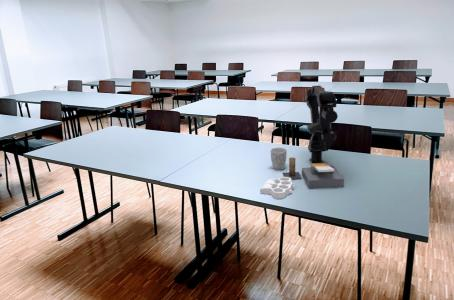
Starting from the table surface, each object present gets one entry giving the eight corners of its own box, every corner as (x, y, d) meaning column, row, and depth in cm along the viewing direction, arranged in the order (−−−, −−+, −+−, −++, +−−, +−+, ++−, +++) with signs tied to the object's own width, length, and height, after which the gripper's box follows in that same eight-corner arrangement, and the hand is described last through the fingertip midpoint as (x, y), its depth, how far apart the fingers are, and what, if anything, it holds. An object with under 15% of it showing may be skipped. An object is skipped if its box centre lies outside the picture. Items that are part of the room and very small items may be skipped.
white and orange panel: (311, 166, 172) (311, 163, 172) (325, 165, 172) (325, 163, 171) (318, 172, 157) (318, 169, 157) (334, 171, 157) (334, 168, 157)
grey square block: (301, 175, 174) (301, 160, 172) (333, 173, 174) (334, 158, 171) (308, 188, 159) (309, 172, 156) (343, 186, 159) (344, 171, 156)
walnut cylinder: (288, 174, 174) (288, 157, 172) (294, 173, 174) (294, 157, 172) (289, 176, 172) (289, 159, 169) (295, 176, 172) (295, 159, 169)
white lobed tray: (268, 181, 170) (298, 184, 165) (258, 197, 154) (290, 201, 149) (268, 175, 169) (298, 178, 164) (257, 190, 153) (290, 194, 148)
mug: (277, 162, 193) (277, 145, 190) (291, 164, 188) (291, 147, 185) (268, 168, 184) (267, 151, 181) (282, 171, 180) (282, 153, 177)
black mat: (282, 173, 177) (282, 172, 177) (298, 172, 177) (298, 171, 177) (285, 180, 169) (285, 178, 169) (301, 179, 169) (301, 178, 169)
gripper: (304, 114, 178) (304, 143, 183) (313, 123, 160) (312, 154, 165) (326, 113, 177) (325, 142, 182) (337, 122, 160) (335, 153, 165)
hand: (324, 147), depth 174 cm, fingers open, 9 cm apart
